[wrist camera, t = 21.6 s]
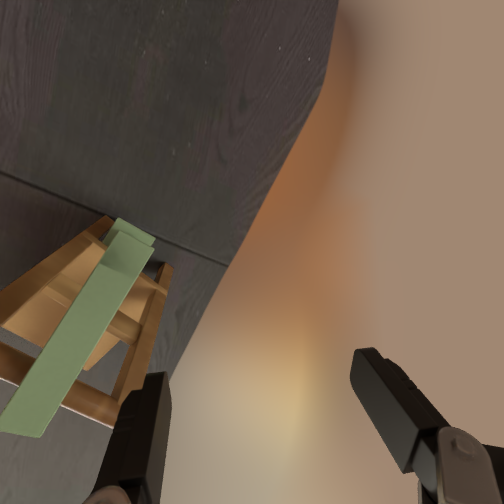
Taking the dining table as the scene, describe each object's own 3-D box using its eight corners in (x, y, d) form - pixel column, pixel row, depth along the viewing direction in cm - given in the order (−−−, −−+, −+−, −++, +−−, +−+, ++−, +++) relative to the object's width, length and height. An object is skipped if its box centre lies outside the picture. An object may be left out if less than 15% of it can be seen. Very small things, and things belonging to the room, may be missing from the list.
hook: (118, 217, 33) (110, 199, 16) (155, 238, 35) (182, 241, 18) (52, 319, 31) (-39, 424, 14) (95, 335, 33) (63, 443, 16)
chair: (176, 270, 41) (140, 428, 19) (110, 334, 44) (6, 541, 21) (101, 211, 36) (-74, 328, 14) (31, 287, 39) (-216, 493, 16)
